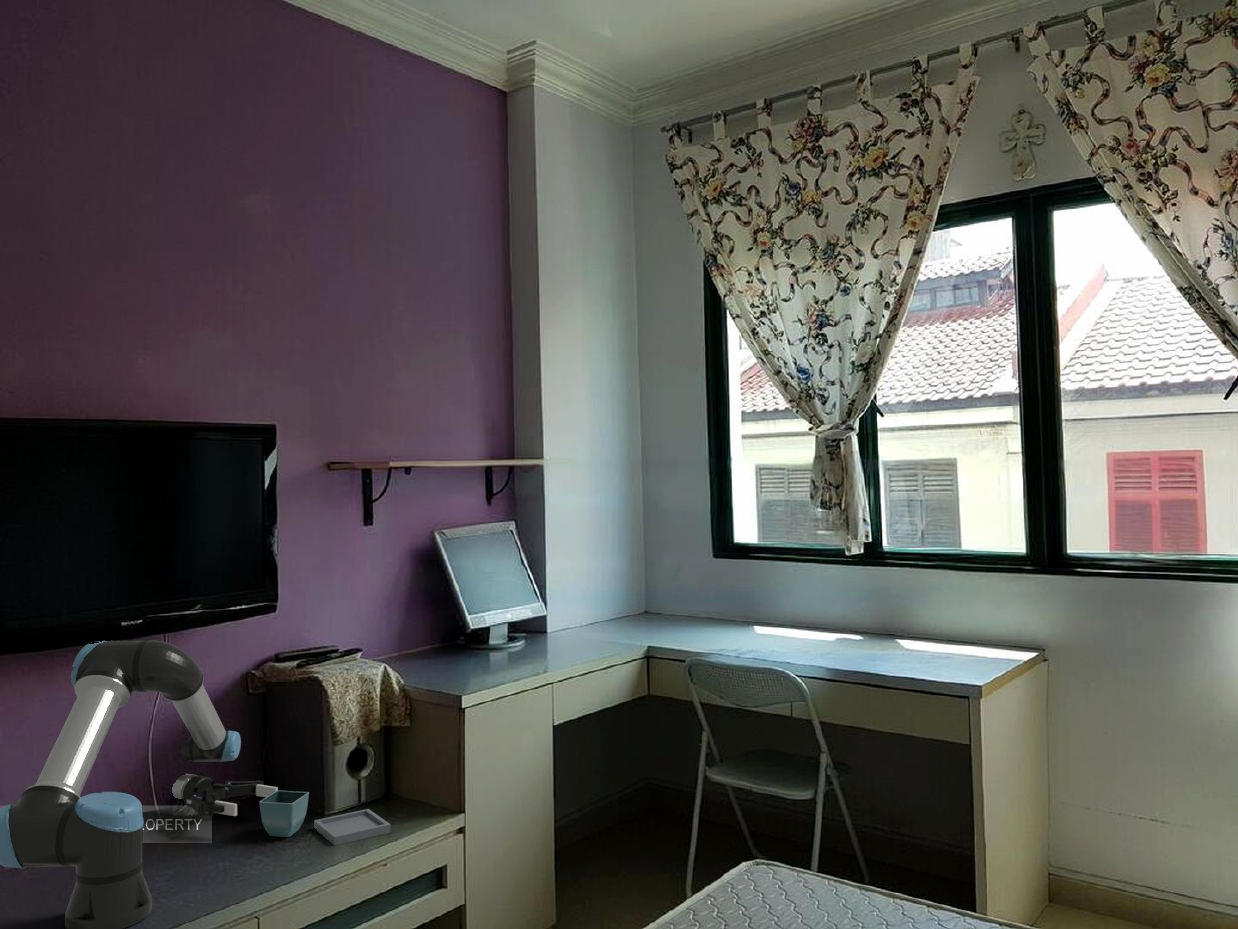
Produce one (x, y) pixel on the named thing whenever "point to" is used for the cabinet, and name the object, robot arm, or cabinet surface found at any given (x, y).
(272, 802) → the flower pot
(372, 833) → the plant tray
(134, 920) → the robot arm
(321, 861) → the cabinet surface
